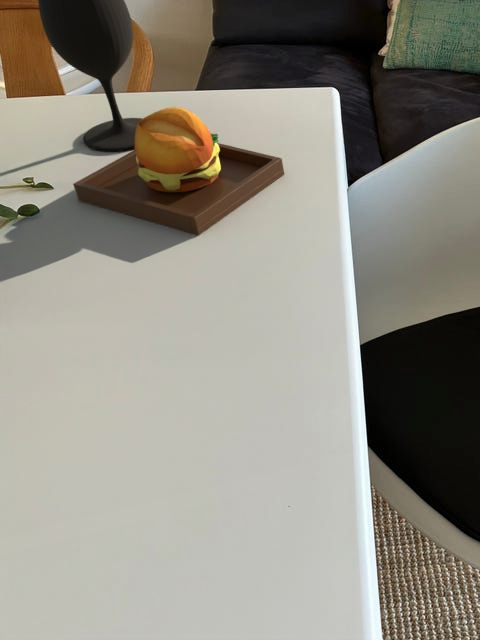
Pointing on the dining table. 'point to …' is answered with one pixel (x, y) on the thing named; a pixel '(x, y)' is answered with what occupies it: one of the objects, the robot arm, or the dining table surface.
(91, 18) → the wine glass
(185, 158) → the cheeseburger
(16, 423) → the dining table surface
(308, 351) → the dining table surface
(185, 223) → the tray
